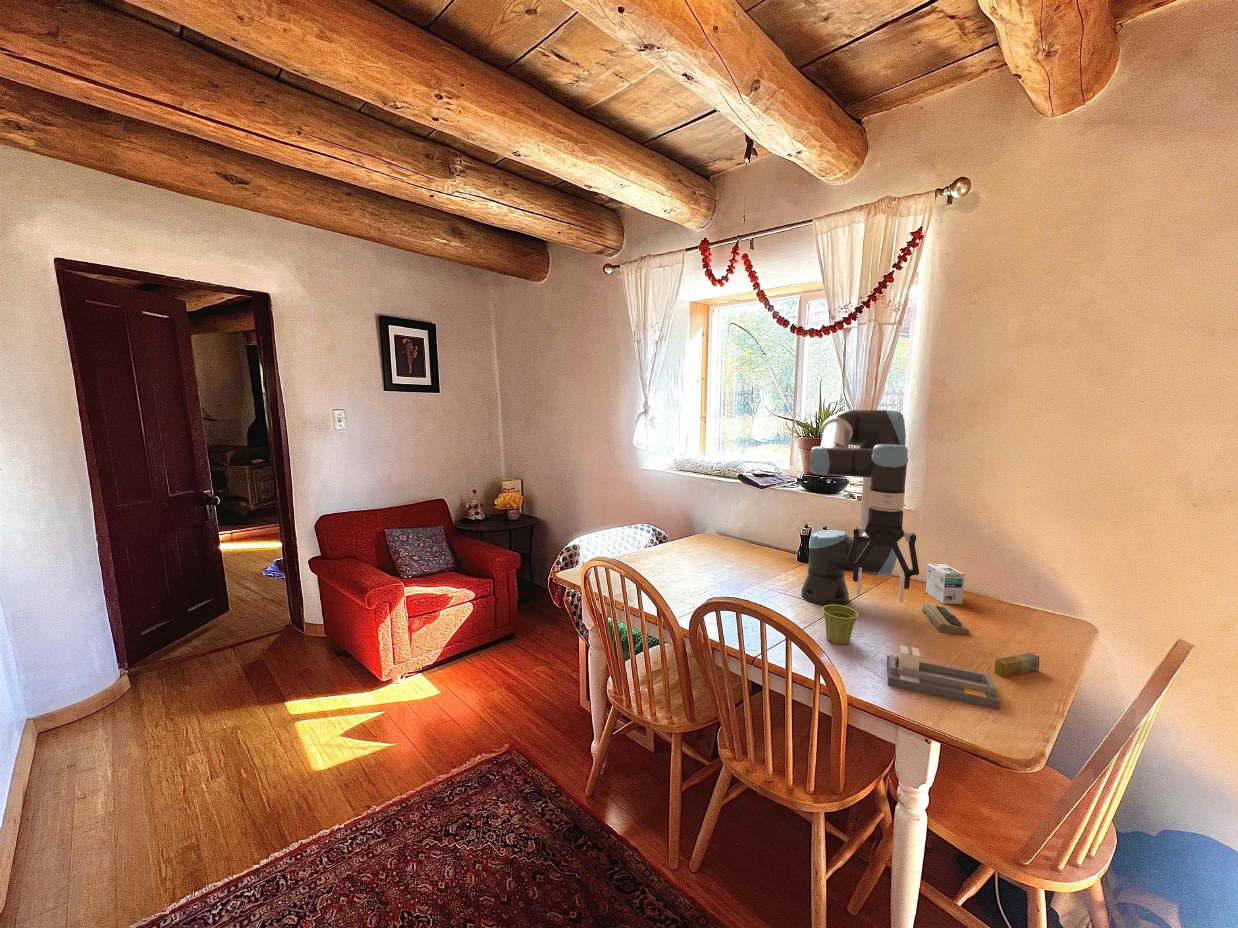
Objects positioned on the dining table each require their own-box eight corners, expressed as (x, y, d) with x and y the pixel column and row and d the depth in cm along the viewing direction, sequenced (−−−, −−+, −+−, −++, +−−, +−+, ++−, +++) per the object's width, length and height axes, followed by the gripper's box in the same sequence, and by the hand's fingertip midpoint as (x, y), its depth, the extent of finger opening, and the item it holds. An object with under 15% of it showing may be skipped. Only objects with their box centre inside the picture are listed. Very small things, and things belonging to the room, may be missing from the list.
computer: (969, 636, 150) (970, 625, 150) (938, 633, 152) (939, 622, 152) (949, 614, 165) (950, 604, 165) (921, 612, 167) (922, 602, 167)
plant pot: (854, 635, 149) (856, 607, 148) (858, 650, 140) (860, 620, 139) (820, 630, 152) (821, 602, 151) (821, 644, 143) (823, 615, 142)
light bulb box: (962, 604, 172) (965, 573, 171) (942, 604, 172) (945, 573, 171) (943, 592, 183) (946, 563, 181) (924, 592, 183) (927, 563, 182)
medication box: (1028, 666, 133) (1029, 652, 132) (1039, 671, 130) (1040, 656, 130) (993, 673, 129) (994, 658, 129) (1004, 679, 127) (1005, 663, 126)
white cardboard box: (899, 671, 125) (901, 651, 125) (898, 663, 129) (900, 644, 129) (918, 674, 124) (920, 655, 123) (916, 666, 127) (918, 647, 127)
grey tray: (887, 685, 123) (888, 671, 123) (886, 662, 134) (887, 649, 134) (999, 709, 114) (1001, 695, 113) (988, 683, 125) (989, 669, 124)
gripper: (837, 506, 126) (831, 595, 129) (939, 515, 117) (931, 610, 120) (838, 501, 133) (833, 585, 135) (935, 509, 123) (927, 599, 126)
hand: (879, 597), depth 128 cm, fingers open, 9 cm apart
